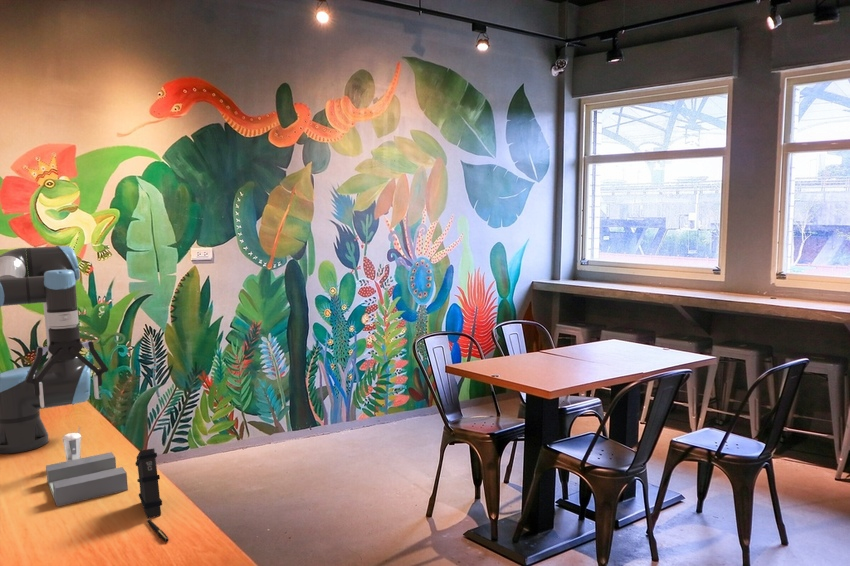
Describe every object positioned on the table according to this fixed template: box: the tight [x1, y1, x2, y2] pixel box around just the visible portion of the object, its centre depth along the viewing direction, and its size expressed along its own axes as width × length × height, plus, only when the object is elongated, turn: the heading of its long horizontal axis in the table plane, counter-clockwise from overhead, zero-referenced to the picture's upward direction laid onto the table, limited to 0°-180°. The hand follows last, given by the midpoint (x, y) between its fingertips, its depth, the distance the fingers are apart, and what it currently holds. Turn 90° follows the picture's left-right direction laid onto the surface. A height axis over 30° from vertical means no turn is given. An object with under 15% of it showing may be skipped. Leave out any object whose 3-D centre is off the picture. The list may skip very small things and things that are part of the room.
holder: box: [45, 451, 129, 507], centre depth 179 cm, size 19×16×4 cm
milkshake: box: [62, 426, 82, 461], centre depth 195 cm, size 5×5×10 cm
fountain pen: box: [146, 518, 169, 543], centre depth 153 cm, size 14×1×2 cm, turn 39°
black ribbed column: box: [134, 447, 163, 519], centre depth 164 cm, size 4×13×15 cm, turn 29°
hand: (70, 402), depth 193 cm, fingers open, 13 cm apart
